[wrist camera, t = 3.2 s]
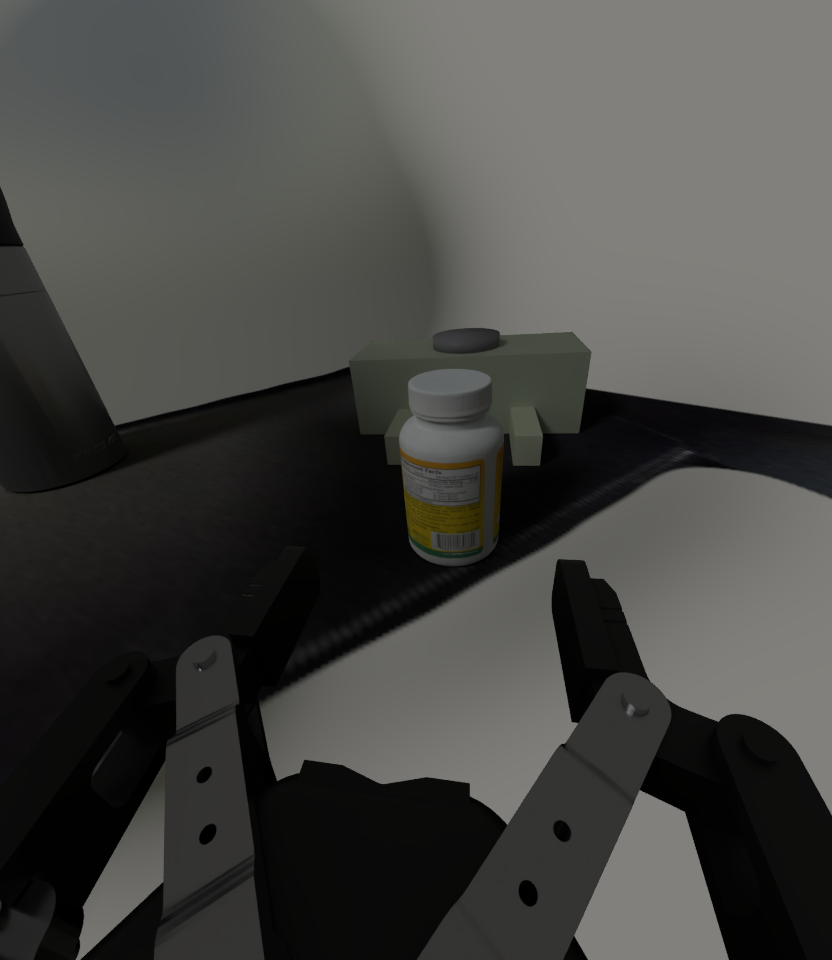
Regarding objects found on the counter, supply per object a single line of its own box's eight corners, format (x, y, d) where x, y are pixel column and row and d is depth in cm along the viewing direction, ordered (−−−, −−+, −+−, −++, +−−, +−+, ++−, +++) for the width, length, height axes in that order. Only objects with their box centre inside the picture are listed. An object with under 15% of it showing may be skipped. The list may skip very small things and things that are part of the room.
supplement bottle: (453, 585, 20) (447, 408, 15) (390, 538, 24) (369, 383, 19) (518, 537, 23) (530, 375, 18) (453, 502, 27) (449, 359, 22)
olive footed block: (341, 464, 33) (322, 368, 29) (379, 405, 44) (370, 331, 40) (595, 466, 29) (615, 357, 25) (563, 401, 41) (573, 321, 37)
